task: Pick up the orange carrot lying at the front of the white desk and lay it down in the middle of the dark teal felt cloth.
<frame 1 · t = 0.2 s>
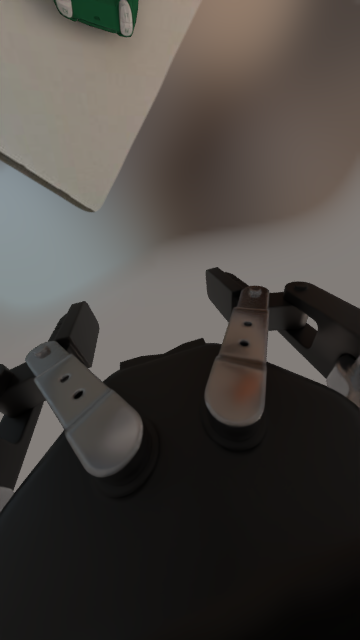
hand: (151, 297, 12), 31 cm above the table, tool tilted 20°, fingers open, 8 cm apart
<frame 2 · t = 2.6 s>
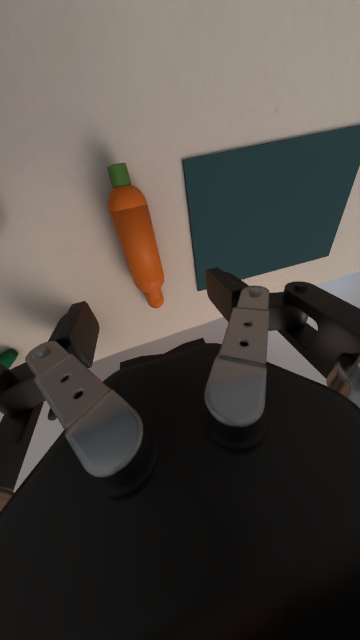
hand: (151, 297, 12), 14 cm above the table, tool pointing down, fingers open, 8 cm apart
cloth: (271, 219, 25), on the table
carrot: (138, 242, 23), on the table
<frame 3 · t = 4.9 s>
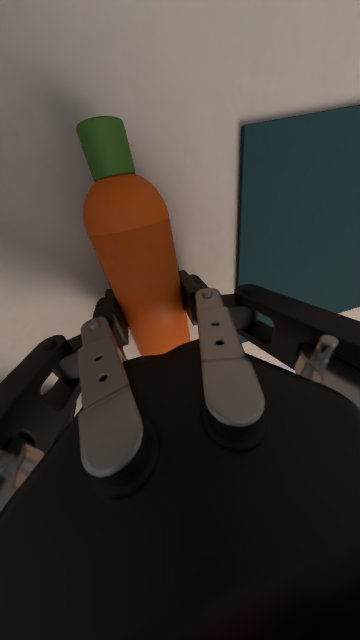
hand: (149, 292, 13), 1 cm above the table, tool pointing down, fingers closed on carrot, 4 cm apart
carrot: (147, 282, 13), on the table, touching gripper
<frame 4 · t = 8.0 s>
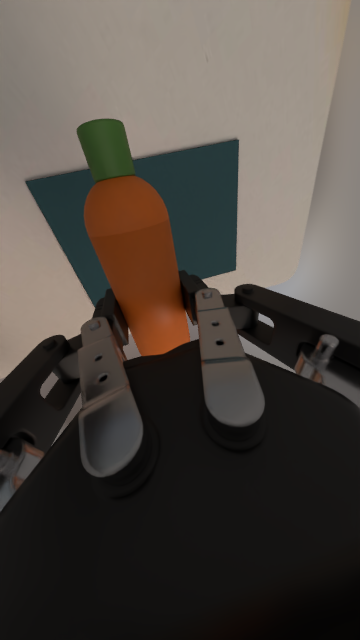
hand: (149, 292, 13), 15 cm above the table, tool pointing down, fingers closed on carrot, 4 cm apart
cloth: (156, 236, 24), on the table
carrot: (147, 283, 13), point 15 cm above the table, touching gripper
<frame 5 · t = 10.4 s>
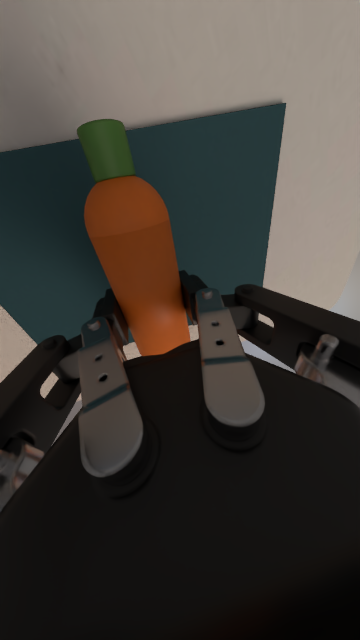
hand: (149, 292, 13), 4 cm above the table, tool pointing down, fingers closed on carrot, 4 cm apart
cloth: (143, 263, 16), on the table
carrot: (147, 283, 13), point 4 cm above the table, touching gripper
when the fingers open (1 cm above the table, at t = 11.6 s): carrot stays where it is, resting on cloth.
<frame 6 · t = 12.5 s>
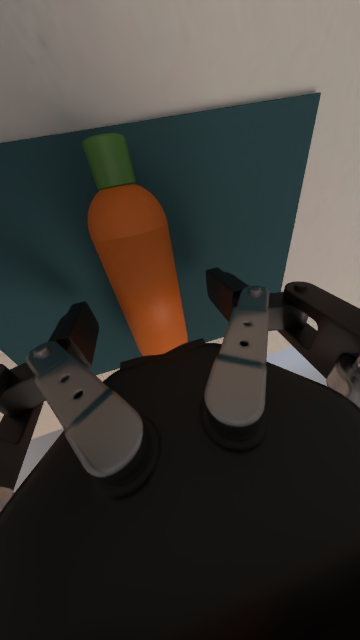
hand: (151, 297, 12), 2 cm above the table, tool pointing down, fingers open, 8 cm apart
cloth: (146, 279, 13), on the table
carrot: (146, 284, 13), resting on cloth
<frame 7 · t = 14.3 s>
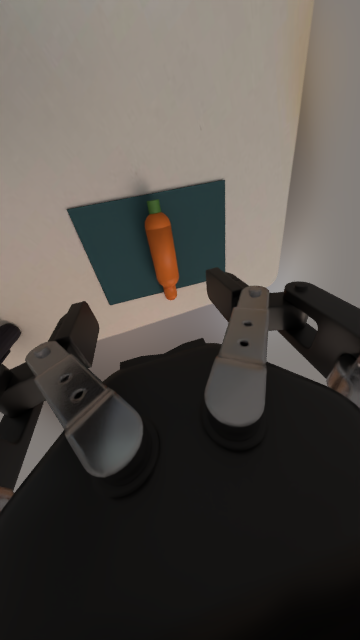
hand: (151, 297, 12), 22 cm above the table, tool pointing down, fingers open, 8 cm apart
two-way radio: (11, 334, 33), on the table
cloth: (160, 249, 31), on the table
carrot: (161, 250, 31), resting on cloth
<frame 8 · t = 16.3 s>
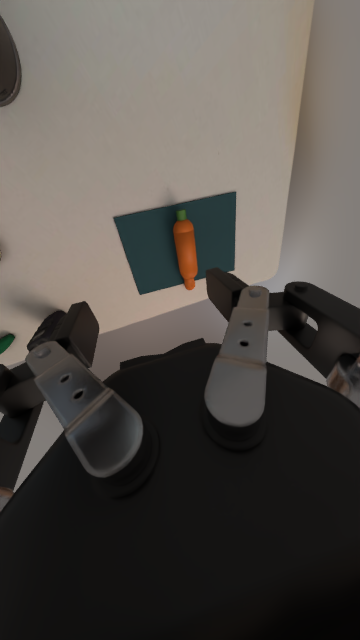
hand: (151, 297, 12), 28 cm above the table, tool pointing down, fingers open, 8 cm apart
two-way radio: (60, 319, 41), on the table
cloth: (183, 247, 38), on the table
carrot: (183, 249, 38), resting on cloth
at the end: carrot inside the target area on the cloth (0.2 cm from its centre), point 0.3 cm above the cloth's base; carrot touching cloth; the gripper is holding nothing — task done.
